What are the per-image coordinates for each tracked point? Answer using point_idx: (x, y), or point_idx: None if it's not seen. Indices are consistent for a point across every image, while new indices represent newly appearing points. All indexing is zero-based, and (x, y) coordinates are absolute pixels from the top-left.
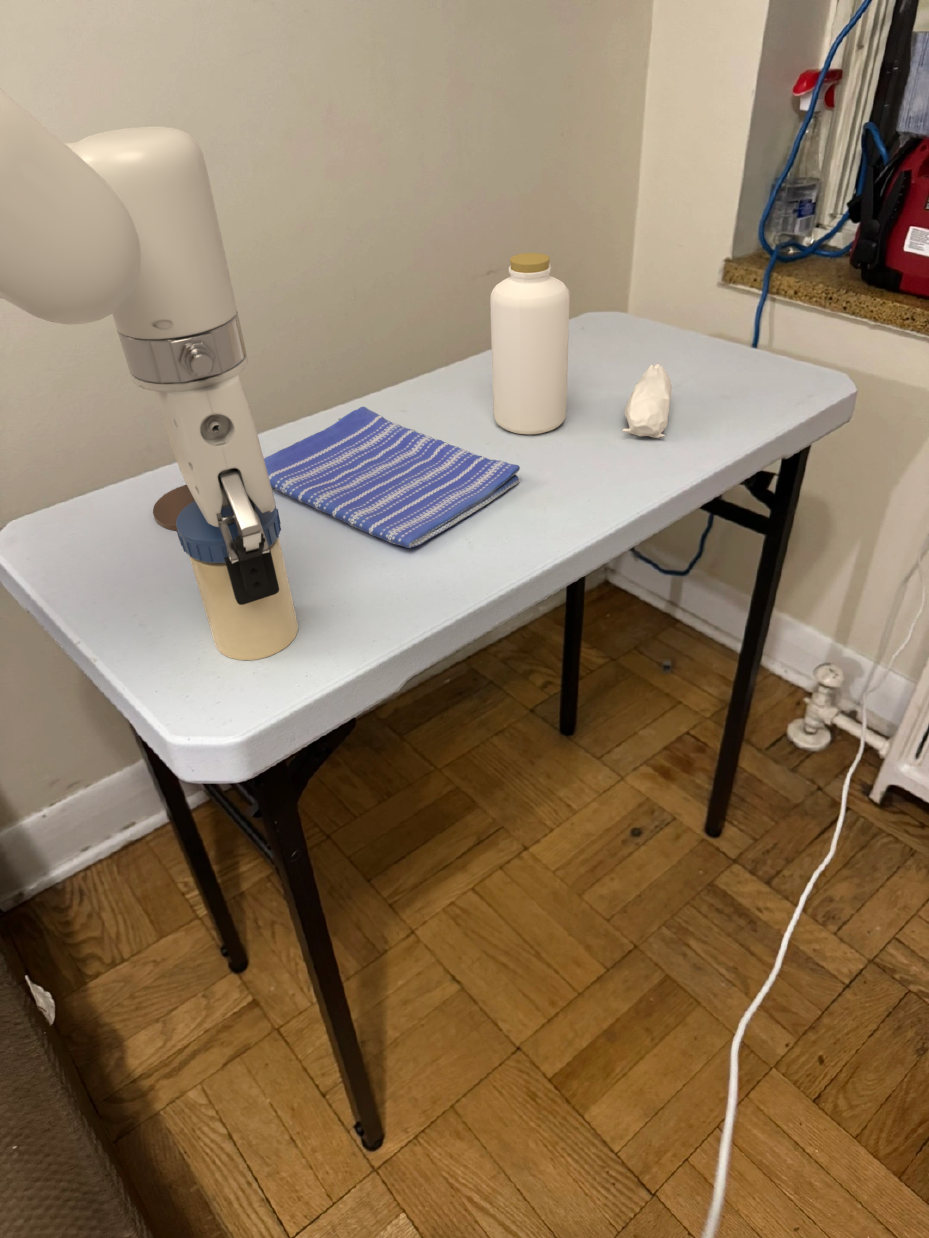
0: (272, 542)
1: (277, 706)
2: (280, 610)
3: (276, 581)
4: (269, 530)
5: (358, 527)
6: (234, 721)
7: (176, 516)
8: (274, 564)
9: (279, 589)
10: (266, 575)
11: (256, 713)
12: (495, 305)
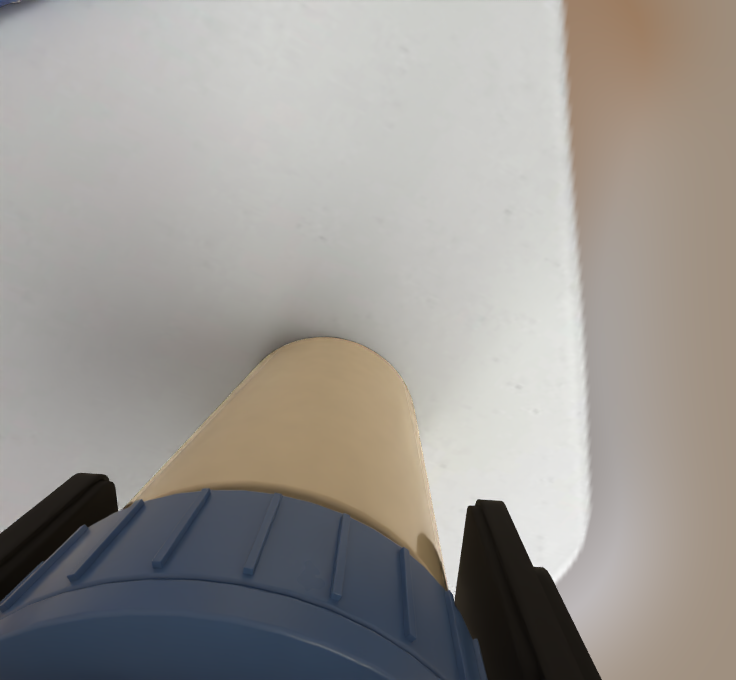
0: (439, 588)
1: (562, 463)
2: (411, 426)
3: (514, 530)
4: (463, 675)
5: (3, 2)
6: (546, 534)
7: None
8: (414, 506)
9: (410, 448)
10: (571, 620)
11: (553, 499)
12: None
